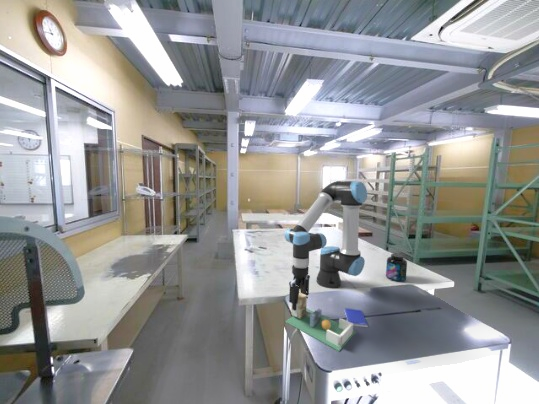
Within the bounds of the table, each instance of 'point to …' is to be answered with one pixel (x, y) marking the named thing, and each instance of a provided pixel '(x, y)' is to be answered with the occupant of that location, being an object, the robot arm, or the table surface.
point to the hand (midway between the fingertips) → (298, 313)
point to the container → (396, 268)
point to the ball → (325, 324)
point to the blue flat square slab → (355, 317)
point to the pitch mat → (317, 329)
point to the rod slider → (314, 316)
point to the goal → (344, 335)
